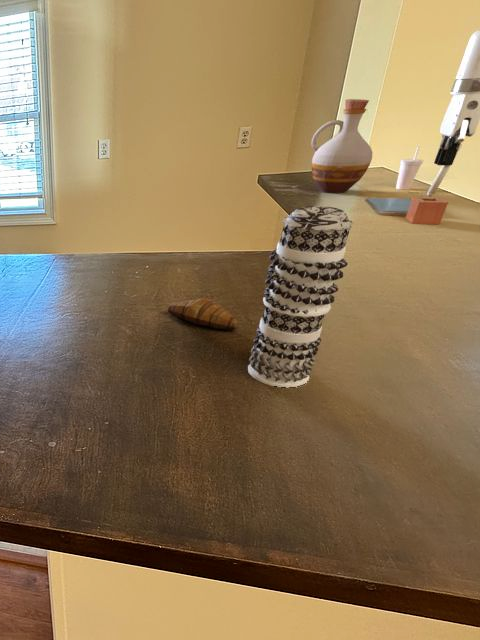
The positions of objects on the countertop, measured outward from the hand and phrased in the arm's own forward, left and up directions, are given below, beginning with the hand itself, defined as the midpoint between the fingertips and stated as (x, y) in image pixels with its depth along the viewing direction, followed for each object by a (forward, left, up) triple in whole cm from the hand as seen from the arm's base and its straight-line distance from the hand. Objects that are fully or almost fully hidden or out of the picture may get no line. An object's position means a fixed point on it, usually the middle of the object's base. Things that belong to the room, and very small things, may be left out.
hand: (442, 164), depth 130 cm
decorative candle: (+43, +100, -16) cm, 110 cm away
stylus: (0, 0, -9) cm, 9 cm away
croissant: (+55, +84, -16) cm, 102 cm away
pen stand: (0, 0, -15) cm, 15 cm away
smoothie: (-6, -48, -16) cm, 50 cm away
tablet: (+2, -17, -15) cm, 23 cm away
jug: (+17, -43, -16) cm, 48 cm away
